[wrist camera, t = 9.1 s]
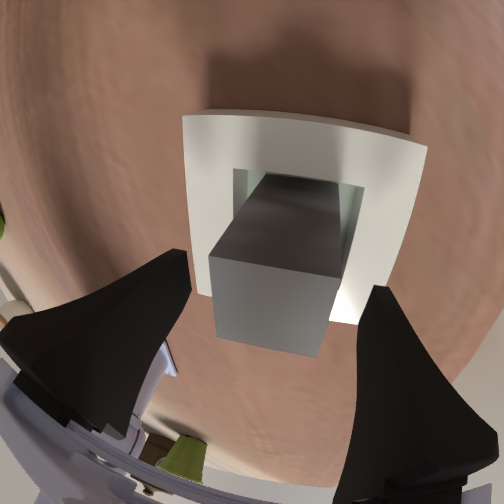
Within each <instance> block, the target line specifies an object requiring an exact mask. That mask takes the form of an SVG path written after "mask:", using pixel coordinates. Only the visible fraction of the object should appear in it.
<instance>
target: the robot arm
mask: <svg viewBox="0 0 504 504" xmlns="http://www.w3.org/2000/svg"><path fill="white" fill-rule="evenodd" d="M191 291H192V288H191V281H190V274H189V267H188V259H187V252H186V251H184V250H178V249H171V250H169V251H167V252H165V253H163V254H162V255H160V256H158V257H156V258H155V259H153V260H151V261H150V262H148V263H146V264H145V265H143V266H141V267H140V268H138V269H136V270H135V271H133V272H131V273H129V274H128V275H126V276H124V277H122V278H120V279H119V280H117V281H115V282H113V283H111V284H110V285H108V286H106V287H104V288H102V289H100V290H98V291H95V292H93V293H91V294H89V295H87V296H84V297H82V298H79V299H76V300H74V301H71V302H68V303H66V304H63V305H60V306H57V307H54V308H51V309H47V310H43V311H39V312H35V313H30V314H25V315H20V316H14V317H13V318H11V320H10V321H9V322H8V323H7V324H6V325H5V326H4V328H3V329H2V330H1V331H0V345H1V347H2V348H3V349H4V350H5V352H6V353H7V354H8V355H9V356H10V358H11V359H12V360H13V361H14V362H15V364H16V365H17V366H18V367H19V368H20V369H21V371H20V372H19V374H17V373H16V371H15V370H14V369H13V368H12V367H10V365H8V363H7V362H6V361H5V360H4V359H3V358H0V435H1V437H2V439H3V440H4V442H5V443H6V445H7V446H8V448H9V449H10V450H11V452H12V453H13V455H14V457H15V458H16V459H17V461H18V462H19V463H20V465H21V466H22V468H23V469H24V470H25V471H26V473H27V474H28V475H29V477H30V478H31V479H32V480H33V481H34V483H35V484H36V485H37V486H38V487H39V489H40V490H41V491H40V493H39V495H38V497H37V499H36V501H35V503H34V504H162V503H160V502H158V501H155V500H153V499H151V498H148V497H146V496H144V495H142V494H139V493H137V492H135V491H134V490H135V489H136V486H137V483H136V482H134V481H132V480H131V479H129V478H127V477H125V475H126V473H127V472H128V473H129V474H131V475H133V476H135V477H137V478H139V479H141V480H143V481H146V482H148V483H150V484H152V485H154V486H156V487H159V488H161V489H163V490H166V491H168V492H171V493H173V494H176V495H178V496H181V497H184V498H186V499H189V500H192V501H195V502H198V503H201V504H278V503H273V502H266V501H262V500H256V499H252V498H247V497H243V496H239V495H234V494H231V493H227V492H223V491H219V490H216V489H213V488H210V487H206V486H203V485H200V484H197V483H194V482H192V481H189V480H186V479H183V478H181V477H178V476H175V475H173V474H170V473H168V472H166V471H163V470H161V469H159V468H156V467H154V466H152V465H150V464H147V463H145V462H143V461H141V460H139V459H138V457H139V455H140V453H141V451H142V449H143V446H144V443H145V438H146V437H145V433H144V429H143V428H142V427H141V425H142V423H143V421H141V420H140V418H141V416H142V414H143V412H144V410H145V408H146V406H147V405H148V403H149V401H150V399H151V397H152V395H153V393H154V391H155V390H156V388H157V386H158V384H159V382H160V380H161V378H162V377H163V375H164V373H166V374H168V375H171V376H174V377H176V376H177V372H176V369H175V366H174V364H173V361H172V358H171V355H170V353H169V350H168V347H167V344H166V342H165V339H166V337H167V336H168V334H169V332H170V331H171V329H172V327H173V326H174V324H175V323H176V321H177V319H178V318H179V316H180V314H181V313H182V311H183V309H184V307H185V305H186V302H187V300H188V298H189V295H190V293H191ZM356 347H357V401H356V411H355V418H354V424H353V430H352V435H351V440H350V444H349V449H348V453H347V457H346V461H345V465H344V468H343V472H342V475H341V478H340V481H339V484H338V487H337V490H336V492H335V495H334V498H333V503H332V504H491V489H492V484H490V483H489V484H486V485H484V486H481V487H477V488H474V489H471V490H468V491H465V492H462V486H464V485H466V484H467V479H468V475H470V474H472V473H474V472H477V471H478V470H481V469H483V468H485V467H487V466H489V465H490V464H492V463H493V462H495V461H496V460H497V459H498V457H499V447H498V435H497V432H496V431H495V430H494V429H493V428H492V427H490V426H489V425H488V424H487V423H486V422H485V421H484V420H483V419H481V417H479V415H478V414H476V412H475V411H474V410H473V409H472V408H471V407H470V406H469V405H468V404H467V403H466V402H465V401H464V400H463V399H462V397H461V396H460V395H459V394H458V393H457V391H456V390H455V389H454V388H453V386H452V385H451V384H450V383H449V382H448V380H447V379H446V378H445V376H444V375H443V374H442V372H441V371H440V369H439V368H438V367H437V365H436V364H435V363H434V361H433V360H432V358H431V357H430V355H429V354H428V352H427V351H426V349H425V347H424V346H423V344H422V343H421V341H420V340H419V338H418V336H417V335H416V333H415V331H414V330H413V328H412V326H411V324H410V323H409V321H408V319H407V318H406V316H405V314H404V312H403V311H402V309H401V307H400V305H399V304H398V302H397V300H396V298H395V297H394V295H393V293H392V291H391V290H390V288H389V287H386V286H380V285H373V288H372V291H371V293H370V296H369V298H368V301H367V303H366V306H365V308H364V310H363V313H362V315H361V317H360V320H359V322H358V333H357V346H356ZM96 455H98V456H100V457H101V458H103V459H104V460H106V461H108V462H106V461H102V460H100V459H98V458H97V456H96Z"/></svg>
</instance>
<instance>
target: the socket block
mask: <svg viewBox="0 0 504 504" xmlns="http://www.w3.org/2000/svg"><path fill="white" fill-rule="evenodd" d="M182 119H183V142H184V160H185V176H186V189H187V201H188V212H189V223H190V233H191V242H192V251H193V259H194V268H195V275H196V283H197V290H198V294H202V295H206V296H211V297H212V291H211V281H210V271H209V260H208V255H209V254H210V252H211V251H212V249H213V248H214V246H215V245H216V243H217V242H218V240H219V239H220V237H221V236H222V235H223V233H224V232H225V230H226V229H227V227H228V226H229V224H230V223H231V222H232V220H233V219H234V217H235V216H236V214H237V213H238V212H239V210H240V209H241V207H242V206H243V204H244V203H245V202H246V200H247V199H248V197H249V196H250V195H251V193H252V192H253V190H254V189H255V188H256V186H257V185H258V183H259V182H260V181H261V179H262V178H263V177H264V175H265V174H272V175H280V176H288V177H296V178H303V179H310V180H317V181H324V182H330V183H336V184H338V185H339V201H340V223H341V281H340V285H339V288H338V292H337V295H336V299H335V302H334V305H333V309H332V312H331V315H330V318H329V320H331V321H337V322H343V323H350V324H356V325H358V322H359V320H360V317H361V315H362V313H363V310H364V308H365V306H366V303H367V301H368V298H369V296H370V293H371V291H372V288H373V285H380V286H386V283H387V281H388V278H389V276H390V273H391V271H392V268H393V266H394V263H395V260H396V258H397V255H398V252H399V249H400V246H401V244H402V241H403V238H404V235H405V232H406V229H407V225H408V222H409V219H410V216H411V212H412V209H413V206H414V202H415V198H416V195H417V191H418V187H419V183H420V179H421V175H422V171H423V167H424V162H425V157H426V153H427V148H428V146H426V145H425V144H423V143H422V142H420V141H419V140H417V139H416V138H414V137H413V136H411V135H409V134H405V133H402V132H398V131H394V130H390V129H386V128H381V127H377V126H372V125H368V124H363V123H358V122H352V121H347V120H341V119H335V118H329V117H322V116H315V115H307V114H298V113H289V112H278V111H264V110H244V109H206V110H202V111H198V112H194V113H190V114H186V115H183V116H182Z"/></svg>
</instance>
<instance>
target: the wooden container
mask: <svg viewBox="0 0 504 504" xmlns="http://www.w3.org/2000/svg"><path fill="white" fill-rule="evenodd" d="M174 444H175V442H173V441H171V440H169V439H166V438H164V437H161V436H159V435H155V434H149V436H148V438H147V440H146V442H145V444H144V447H143V449H142V451H141V453H140V455H139V457H138V459H139V460H141V461H143V462H145V463H147V464H150V465H152V466H154V467H156V468H158V467H157V465H160V463H161V462H162V460H163V459H165V457H166V456H167V455H168V453H169V452H170V450H171V449H172V447H173V446H174ZM159 469H160V468H159ZM161 470H163V469H161ZM163 471H165V470H163ZM166 472H167V471H166ZM168 473H169V472H168ZM170 474H172V473H170ZM173 475H174V474H173ZM130 476H131V477H132V478H134V479H136V480H137V481H139V482H141V483H142V484H143V485H144V487H145V489H144V490H143V493H145V495H148V496H153V492H156V491H161V492H164V493H167V494H170V495H173V493H171V492H168V491H166V490H163V489H161V488H159V487H156V486H154V485H152V484H150V483H148V482H146V481H143V480H141V479H139V478H137V477H135V476H133V475H130ZM175 476H177V475H175ZM178 477H179V476H178Z"/></svg>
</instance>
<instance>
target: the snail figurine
mask: <svg viewBox="0 0 504 504" xmlns="http://www.w3.org/2000/svg"><path fill="white" fill-rule="evenodd" d="M3 232H4V221H3V218H2V216H1V215H0V239H1V238H2V236H3Z"/></svg>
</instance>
